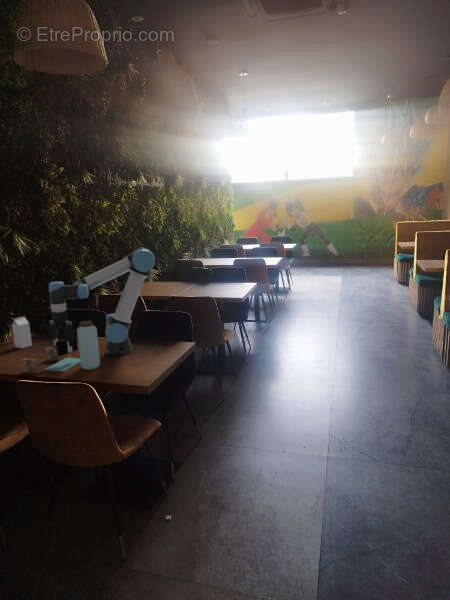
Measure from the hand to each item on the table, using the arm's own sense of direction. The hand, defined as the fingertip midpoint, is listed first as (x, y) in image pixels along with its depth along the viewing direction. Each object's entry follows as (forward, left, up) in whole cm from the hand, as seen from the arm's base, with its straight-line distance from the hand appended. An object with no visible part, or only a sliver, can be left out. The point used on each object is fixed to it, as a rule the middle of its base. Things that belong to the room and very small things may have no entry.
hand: (63, 351), depth 226 cm
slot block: (+11, +4, -8) cm, 14 cm away
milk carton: (+49, -23, -8) cm, 55 cm away
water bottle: (-16, 0, -8) cm, 18 cm away
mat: (0, 0, -8) cm, 8 cm away
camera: (0, -1, -1) cm, 2 cm away
